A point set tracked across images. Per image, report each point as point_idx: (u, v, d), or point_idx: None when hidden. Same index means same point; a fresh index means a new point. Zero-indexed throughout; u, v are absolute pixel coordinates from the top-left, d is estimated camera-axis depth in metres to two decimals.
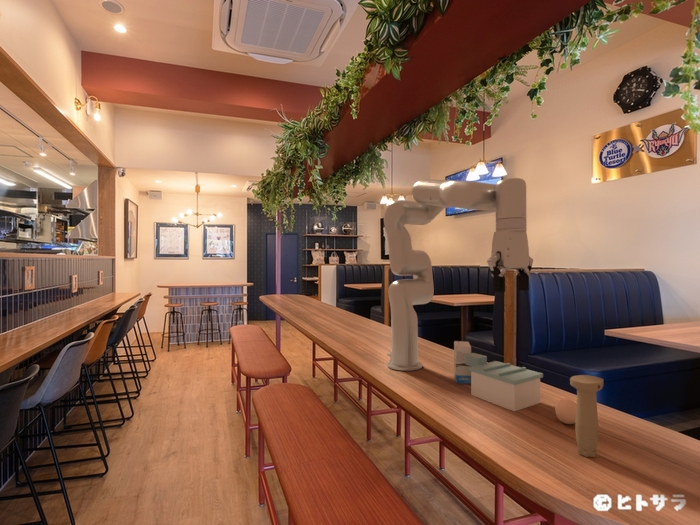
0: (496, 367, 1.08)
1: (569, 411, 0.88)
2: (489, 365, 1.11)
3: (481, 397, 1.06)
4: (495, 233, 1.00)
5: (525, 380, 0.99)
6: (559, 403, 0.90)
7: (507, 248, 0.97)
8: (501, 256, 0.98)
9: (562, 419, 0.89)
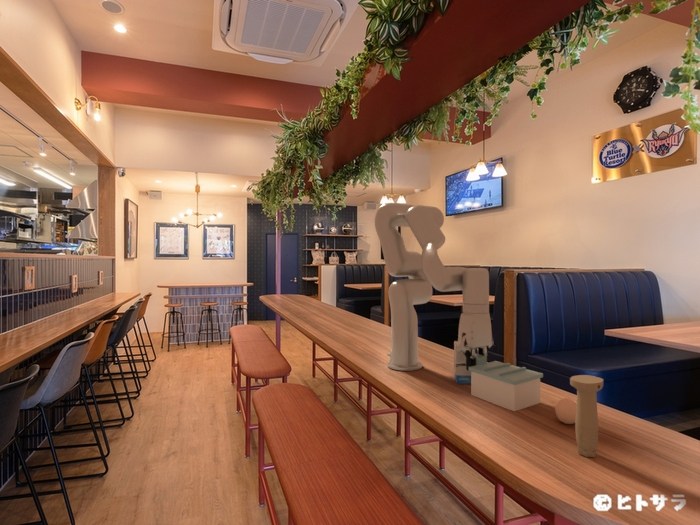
0: (496, 367, 1.08)
1: (569, 411, 0.88)
2: (489, 365, 1.11)
3: (481, 397, 1.06)
4: (461, 316, 1.14)
5: (525, 380, 0.99)
6: (559, 403, 0.90)
7: (471, 331, 1.11)
8: (466, 337, 1.11)
9: (562, 419, 0.89)
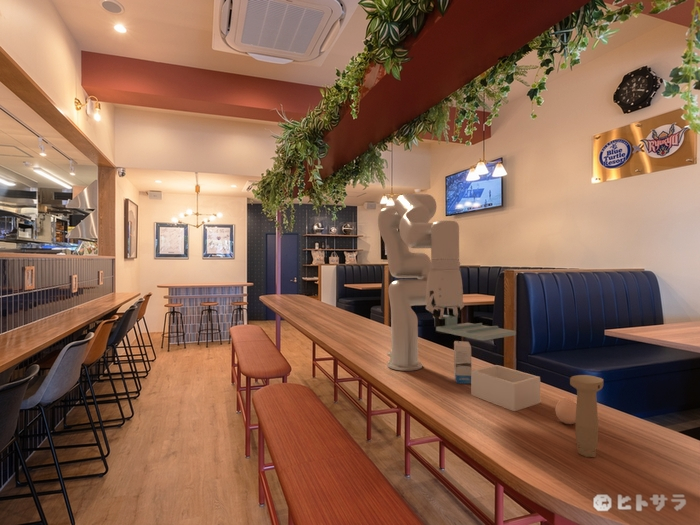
0: (466, 326, 0.98)
1: (569, 411, 0.88)
2: (459, 325, 1.02)
3: (481, 397, 1.06)
4: (429, 273, 1.04)
5: (495, 336, 0.90)
6: (559, 403, 0.90)
7: (439, 288, 1.01)
8: (434, 295, 1.02)
9: (562, 419, 0.89)
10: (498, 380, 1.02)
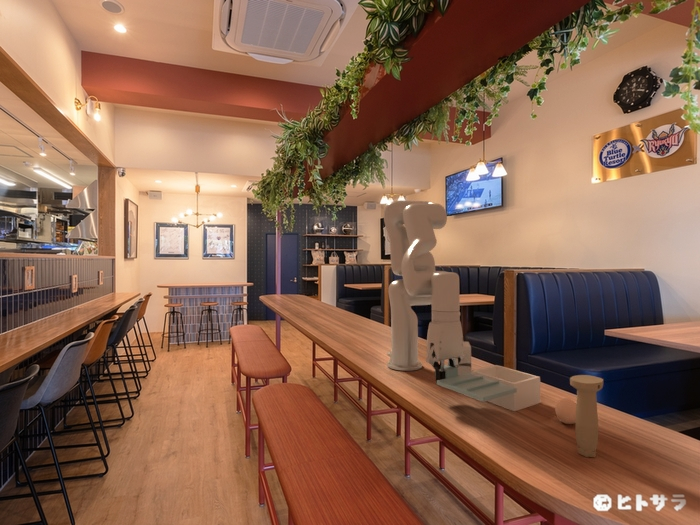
0: (466, 381, 0.98)
1: (569, 411, 0.88)
2: (460, 378, 1.01)
3: None
4: (430, 324, 1.04)
5: (495, 396, 0.89)
6: (559, 403, 0.90)
7: (439, 341, 1.01)
8: (434, 348, 1.02)
9: (562, 419, 0.89)
10: (498, 380, 1.02)
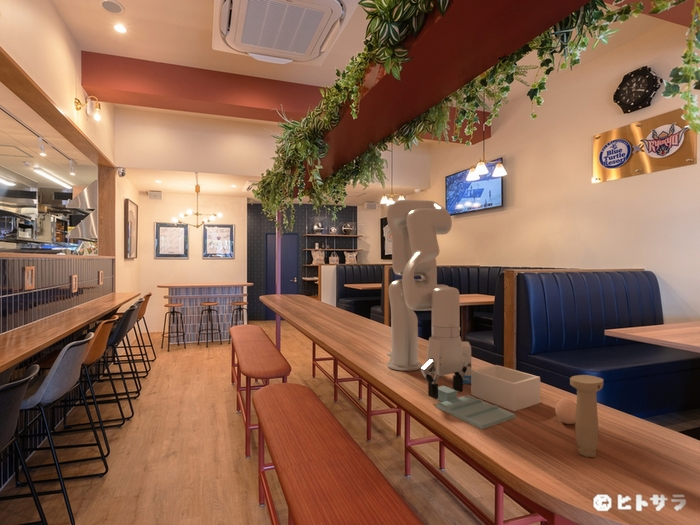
0: (465, 405, 0.99)
1: (569, 411, 0.88)
2: (459, 401, 1.02)
3: (481, 397, 1.06)
4: (430, 339, 1.04)
5: (494, 423, 0.90)
6: (559, 403, 0.90)
7: (439, 357, 1.02)
8: (434, 363, 1.02)
9: (562, 419, 0.89)
10: (498, 380, 1.02)
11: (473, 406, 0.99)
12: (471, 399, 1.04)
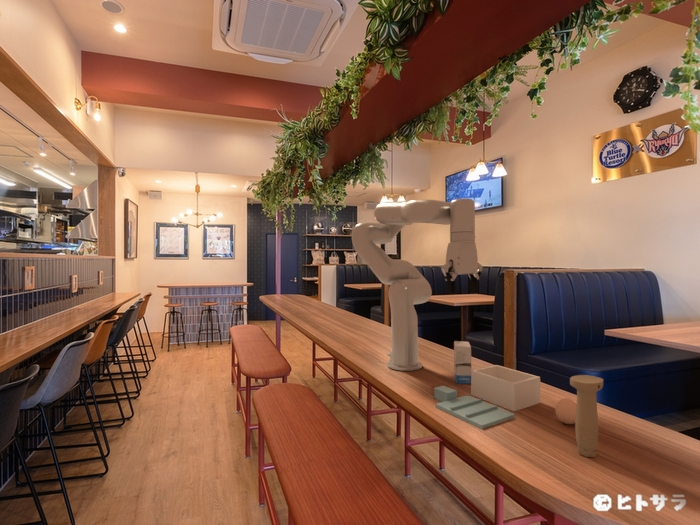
0: (465, 405, 0.99)
1: (569, 411, 0.88)
2: (458, 401, 1.02)
3: (481, 397, 1.06)
4: (449, 244, 1.19)
5: (494, 423, 0.90)
6: (559, 403, 0.90)
7: (457, 257, 1.16)
8: (453, 264, 1.17)
9: (562, 419, 0.89)
10: (498, 380, 1.02)
11: (473, 406, 0.99)
12: (471, 399, 1.04)
